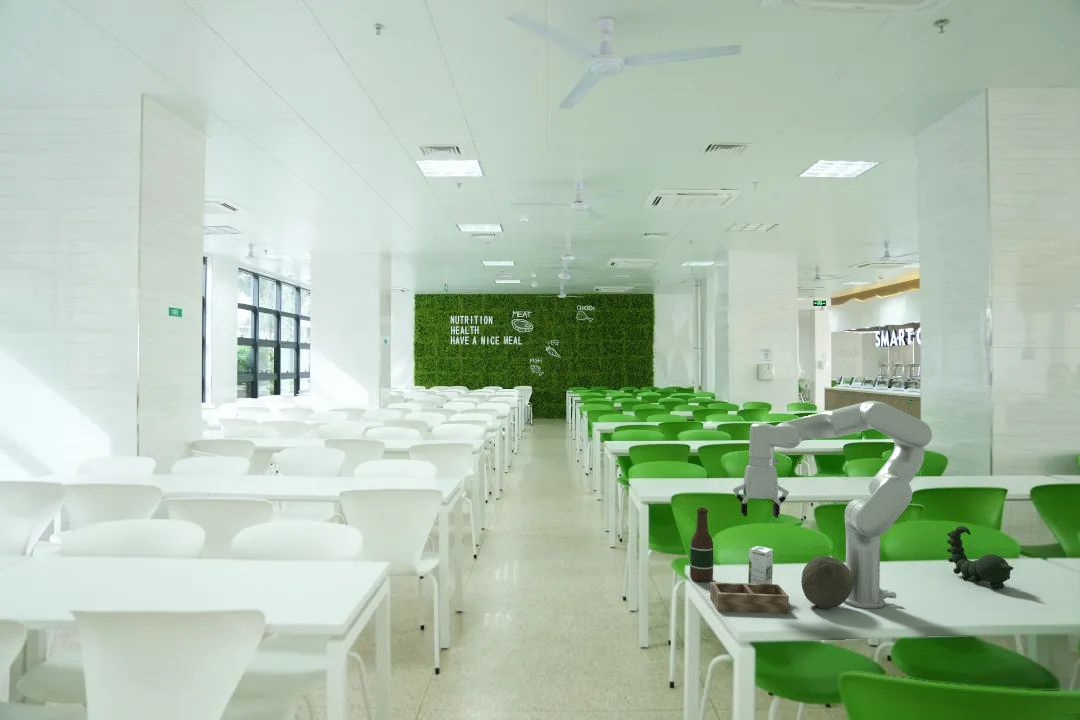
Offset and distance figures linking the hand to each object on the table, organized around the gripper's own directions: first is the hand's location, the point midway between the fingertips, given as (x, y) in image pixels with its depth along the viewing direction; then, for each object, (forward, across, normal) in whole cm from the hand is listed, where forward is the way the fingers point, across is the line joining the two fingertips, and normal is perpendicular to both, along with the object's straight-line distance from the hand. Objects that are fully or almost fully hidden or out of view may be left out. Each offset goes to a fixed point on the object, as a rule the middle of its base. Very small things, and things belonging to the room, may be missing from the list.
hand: (760, 516), depth 215 cm
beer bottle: (+25, +15, -14) cm, 33 cm away
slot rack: (+25, +6, +11) cm, 28 cm away
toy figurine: (+24, -80, -20) cm, 86 cm away
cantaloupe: (+25, -18, +10) cm, 32 cm away
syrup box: (+25, -1, 0) cm, 25 cm away
